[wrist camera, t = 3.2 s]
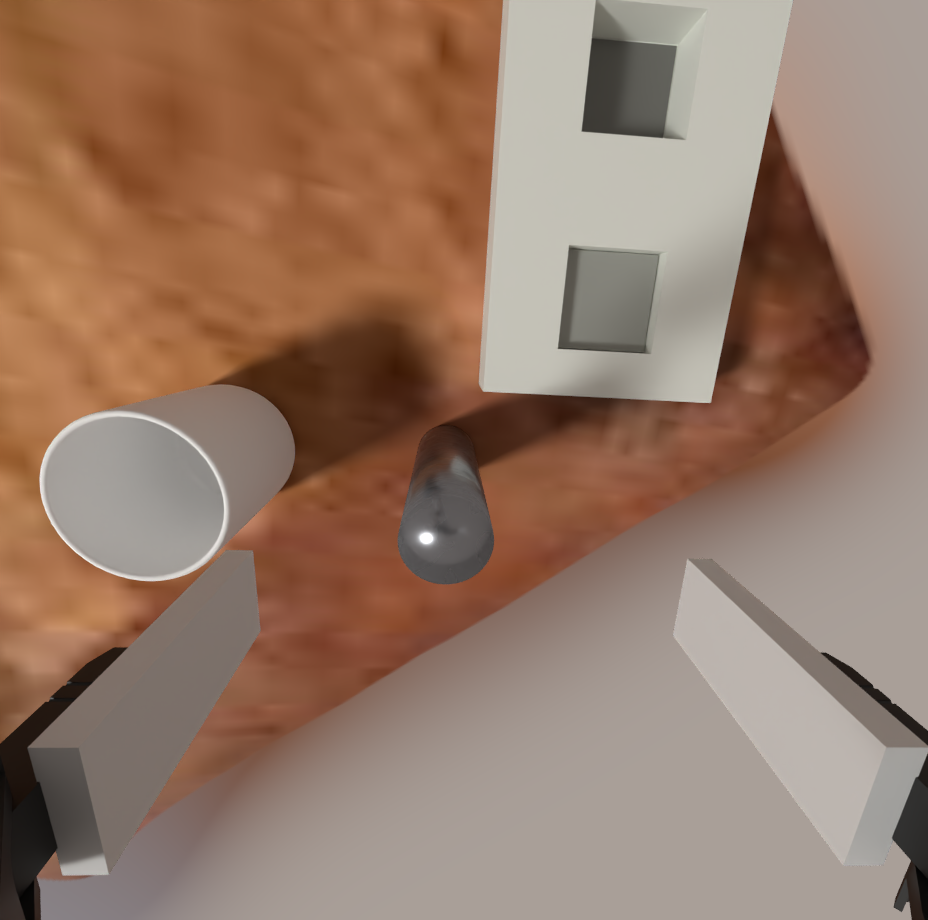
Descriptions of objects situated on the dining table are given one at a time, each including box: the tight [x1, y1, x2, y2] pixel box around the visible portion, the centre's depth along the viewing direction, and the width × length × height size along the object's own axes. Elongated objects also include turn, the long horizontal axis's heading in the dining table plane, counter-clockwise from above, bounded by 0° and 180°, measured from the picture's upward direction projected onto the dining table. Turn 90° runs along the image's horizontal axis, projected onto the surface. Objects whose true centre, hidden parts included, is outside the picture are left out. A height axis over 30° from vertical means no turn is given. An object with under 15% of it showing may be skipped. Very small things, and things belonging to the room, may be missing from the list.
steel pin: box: [398, 425, 494, 584], centre depth 26 cm, size 4×4×14 cm
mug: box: [40, 384, 295, 581], centre depth 27 cm, size 9×12×11 cm
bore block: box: [479, 0, 793, 403], centre depth 27 cm, size 22×14×4 cm, turn 177°
